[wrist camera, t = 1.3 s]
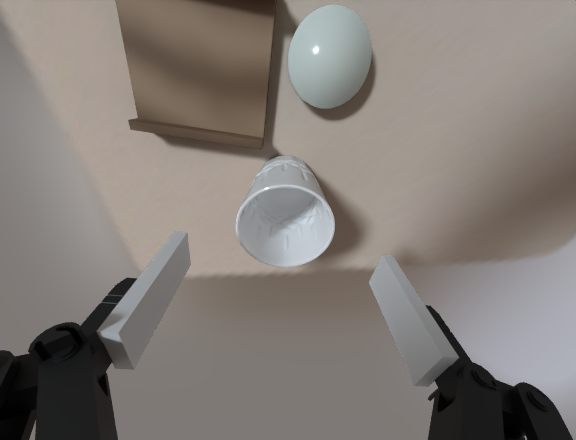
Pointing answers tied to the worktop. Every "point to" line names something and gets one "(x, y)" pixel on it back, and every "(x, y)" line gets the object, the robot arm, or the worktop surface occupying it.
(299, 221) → the white cup
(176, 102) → the stand
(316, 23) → the pale mint domed disc
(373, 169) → the worktop surface
